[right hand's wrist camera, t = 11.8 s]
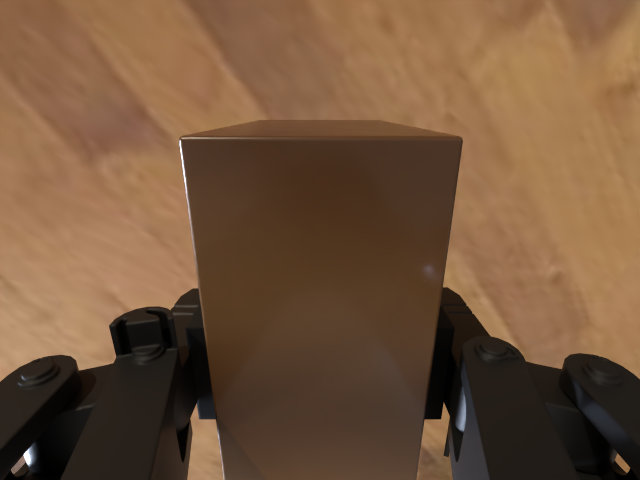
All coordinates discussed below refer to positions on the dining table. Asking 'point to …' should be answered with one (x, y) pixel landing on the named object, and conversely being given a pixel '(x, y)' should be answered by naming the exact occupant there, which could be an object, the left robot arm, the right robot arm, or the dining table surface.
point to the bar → (320, 290)
